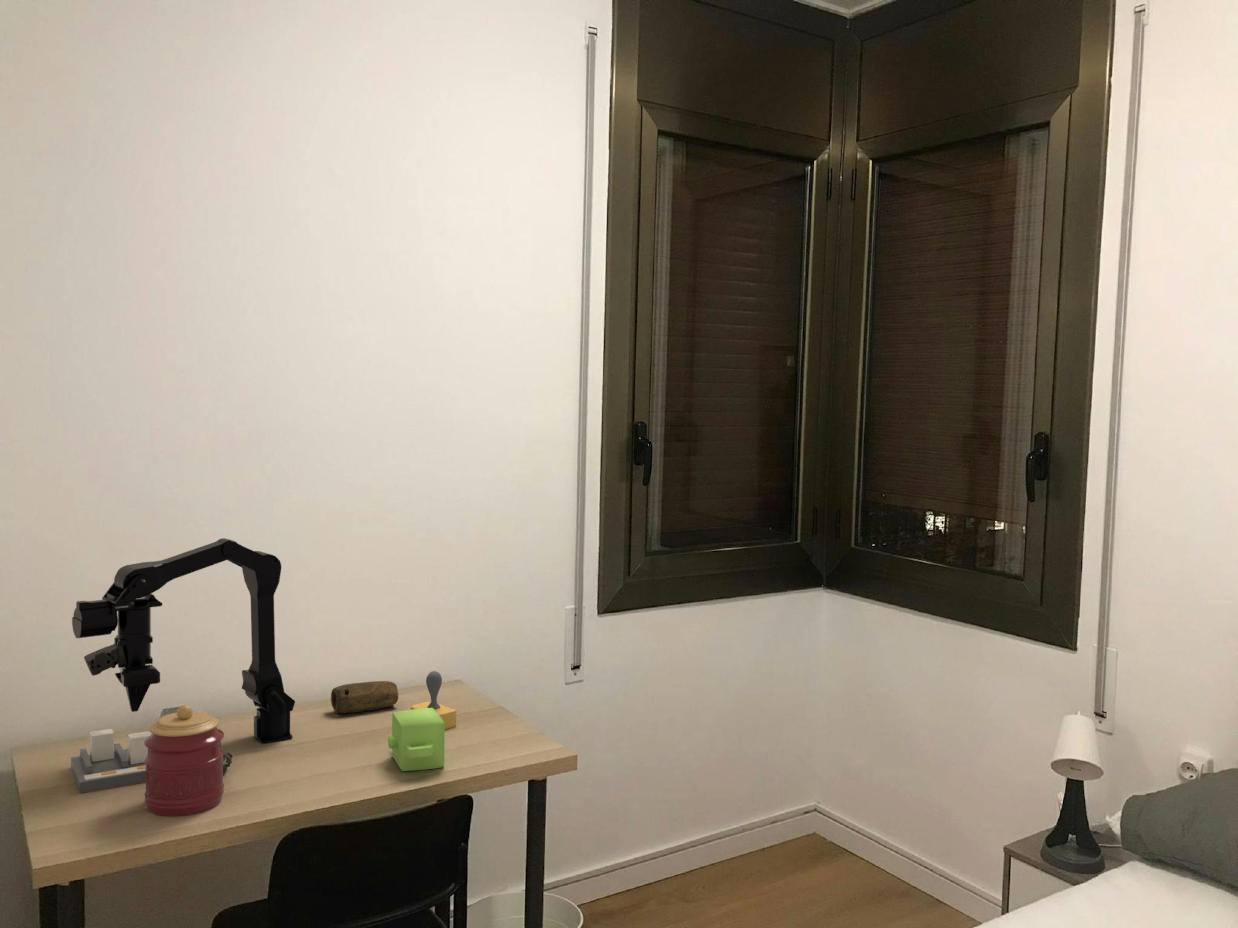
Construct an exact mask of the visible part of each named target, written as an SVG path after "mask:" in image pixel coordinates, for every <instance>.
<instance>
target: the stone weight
mask: <svg viewBox="0 0 1238 928" xmlns="http://www.w3.org/2000/svg"><path fill="white" fill-rule="evenodd" d="M398 701H399V690H398V686H397V684H396V683H394V682H393V681H389V680H378V681H377V680H375V681H363V682H355V683H346V684H341V685H338V686H335V687H334V688H332V689H331V692H330V703H331V707H332V708H333V710H334V712H335V714H340V715H341V714H355V713H361V712H362V713H363V712H369V711H375V710H380V709H383V708H388V707H391V706H394V705H396V704H397V702H398Z"/></svg>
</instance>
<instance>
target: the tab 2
mask: <svg viewBox="0 0 1238 928" xmlns="http://www.w3.org/2000/svg"><path fill="white" fill-rule="evenodd" d="M151 734H152V733H151V732H150V730H147V731H141V732H140V731H139V732H136V733H129V734H128V735H127V749H128V760H129V762H130V764H131V765H132V764H138V763H144V762H145V758H146V757H147V754H148V748H147V747H146V746H145V744H144V741H145V739H146V738H147V737H148V736H150V735H151Z"/></svg>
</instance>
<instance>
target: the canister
mask: <svg viewBox="0 0 1238 928" xmlns="http://www.w3.org/2000/svg"><path fill="white" fill-rule="evenodd" d="M219 723H220V722H219V719H218V718H217V717H215V716H212V715H210V713H208V712H205V711H199V710H193V708H192V707H191V706H190V705H188V704H182V705H180V706H179V707H178V708H177V710H176V712H172V713H169V714H165V715H163V716H162V717H160V718H159V719H158V720H156V721H155V722H153V723H152V724H150V726H149V731H150V733H151V735H150V736H148V737H147V738H146V739H145V741H144V744H145V746H146V747H147V748H148V754H147V757H146V758H145V764H146V782H145V792H144V803H145V805H146V806H145V807H146V810H147V811H148V812H150V813H152V814H155V815H157V816H158V815H159V816H167V817H177V816H180V817H181V816H186V815H187V816H189V815H193V814H198V813H202V812H204V811H207V809H208V810H209V809H212V808H214V807H215V806H217V805H219V804H220V803H221V802H222V800H223V794H224V791H225V789H224V787H225V784H224V755H225V754H224V753H225V752H224V750H223V748H222V744H221V743H222V740H223V738H224V736H225V734H224V733H225V732H224V731H223V730H222V729H220V728H218V725H219Z"/></svg>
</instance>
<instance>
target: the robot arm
mask: <svg viewBox="0 0 1238 928" xmlns="http://www.w3.org/2000/svg"><path fill="white" fill-rule="evenodd" d="M225 561H228V562H230V563H232V564H234V565H236V566H238V567H240V568H241V569H242V570H241V571H242V574H243V579H244V580H243V581H244V583H245V585H246V588H247V590H248V593H249V595H250V624H251V625H250V629H251V664H250V665H249V668H248V669H242V670H241V676H242V684H241V689H242V690H244V693H245V695H246V696H247V698H249V699H250V700H251V701H252V703H253V705H254V706H255V707H257V708H256V715H254V716H253V736H255V738H256V739H257V740H258V741H259V742H260V743H261V744H265V743H272V742H278V741H284V740H289V739H293V734H292V733H291V712H293V709H294V707H295V703H296V700H294V699H293V698H292V697H291V696H290V695H288V694H287V693H286V692H285V688H284V683H283V678H282V675H281V672H280V670H279V667H278V664H277V663H276V635H275V632H276V631H275V630H276V629H275V627H276V626H275V594H276V591H277V589H278V587H279V584H280V582H281V581H280V579H281V573H282V562H281V560H280V559H279V558H278V557H277V556H276V555H273V554H270V553H267V552H263V551H259V550H252V549H250V548H247V547H246V546H244V545H242V544H240V543H238V542H237V541H235V540H233V539H230V538H225V537H224V538H223V537H222V538H219V539H217V540H216V541H214V542H212V543H211V542H210V543H207V544H205V545H202V546H199V547H197V548H194V549H190V550H188V551H184V552H181V553H179V554H176V555H174V556H170V557H168V558H165V559H162V560H161V559H160V560H157V561H143V562H139V563H138V562H136V563H131V564H126V565H123V566H122V567H120V568H119V569H118V570H117V572H116V574H115V576H114V579H113V580H114V581H113V582H112V584H111V586H110V587H109V588H108V589H107V591H106V592H105V593H104V595H103V596H102V597H101V599H98V600H78V601H76V604H75V607H76V608H75V609H74V610H73V611H74V612H73V615H72V616H73V617H71V622H72V623H71V624H72V631H73V634H74V637H75V638H76V639H84V638H91V637H92V638H93V637H99V636H107V635H111V634H112V632H113V631H116V629H117V635H115V637H114V642H113V644H111V645H108V646H105V647H102V648H100V649H97V650H95V651H93V652H90V653H87V654H86V655H84V657H83V659H84V661H85V664H86V666H87V668H88V670H89V673H90V674H91V676H98V675H101V673H102V672H105V671H106V670H109V669H111V668H112V669H115V668H116V666H117V668H118V669H119V672H116V673H115V674H114V675H115V677H116V678H117V680H118V682H119V683H120V684H121V685H122V686H123V687H124V688H125V691H126V695H127V700H128V704H129V707H130V711H131V712H133V713H134V712H138V711H139V709H140V707H141V705H142V702H143V700H144V699H145V696H146V695H147V692H148V690H149V688H150V686H151V685H156V684H159V683H160V682H161V672H160V670H158V668H156V666H154V665H153V663H154V661H153V657H152V655H151V652H152V650H151V648H152V647H151V644H152V643H153V639H154V638H153V635H152V633H151V631H152V630H151V629H152V628H151V626H152V625H151V621H152V620H151V619H152V618H151V616H152V615H151V614H152V613H151V612H152V611H151V608H157V607H162V606H163V603H162V602H161V601H159V599H158V598H156V596H155V595H154V593H155V592H156V591H159V590H160V589H161V588H163V587H164V586H165V585H166V584H168V583H170V582H171V581H173V580H175V579H178V578H181V577H184V576H186V575H189V574H191V573H194V572H197V571H200V570H203V569H205V568H208V567H211V566H214V565H217V564H220V563H222V562H225Z"/></svg>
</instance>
